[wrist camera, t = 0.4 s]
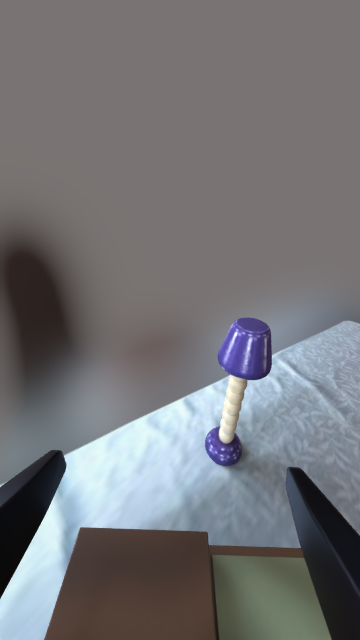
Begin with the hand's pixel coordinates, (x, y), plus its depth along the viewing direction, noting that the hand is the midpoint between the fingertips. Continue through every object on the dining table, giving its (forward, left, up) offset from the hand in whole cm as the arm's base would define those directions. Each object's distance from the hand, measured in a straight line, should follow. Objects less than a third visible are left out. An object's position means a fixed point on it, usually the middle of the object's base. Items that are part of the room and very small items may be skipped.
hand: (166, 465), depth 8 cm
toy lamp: (+10, -6, -16) cm, 20 cm away
